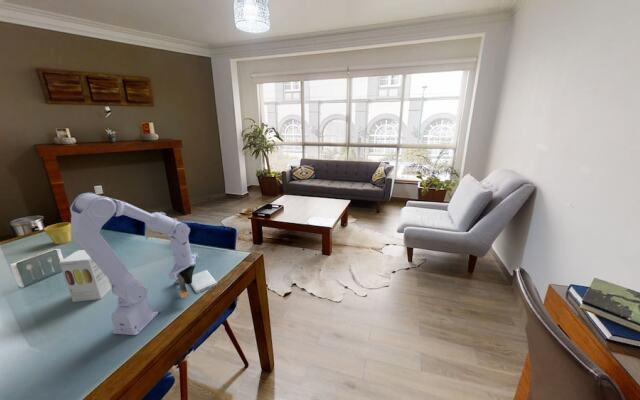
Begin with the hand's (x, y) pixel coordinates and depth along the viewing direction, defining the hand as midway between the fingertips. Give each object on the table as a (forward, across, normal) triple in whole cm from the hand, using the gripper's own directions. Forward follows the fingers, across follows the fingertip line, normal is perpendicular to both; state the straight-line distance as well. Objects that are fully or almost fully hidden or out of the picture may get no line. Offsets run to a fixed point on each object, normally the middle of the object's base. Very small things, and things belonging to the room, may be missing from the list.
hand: (188, 283), depth 96 cm
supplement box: (+3, -5, +36) cm, 37 cm away
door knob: (+3, +5, +7) cm, 10 cm away
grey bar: (0, 0, +3) cm, 3 cm away
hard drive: (+4, +6, -2) cm, 7 cm away
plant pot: (+3, +34, +98) cm, 104 cm away
